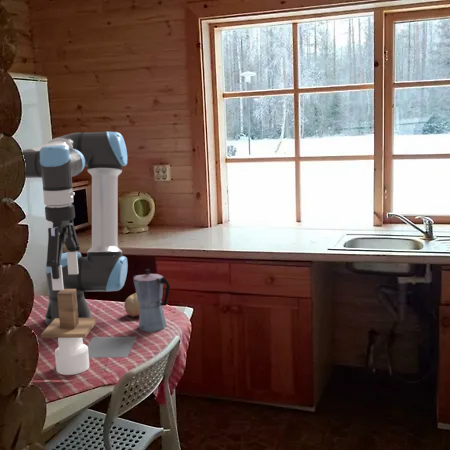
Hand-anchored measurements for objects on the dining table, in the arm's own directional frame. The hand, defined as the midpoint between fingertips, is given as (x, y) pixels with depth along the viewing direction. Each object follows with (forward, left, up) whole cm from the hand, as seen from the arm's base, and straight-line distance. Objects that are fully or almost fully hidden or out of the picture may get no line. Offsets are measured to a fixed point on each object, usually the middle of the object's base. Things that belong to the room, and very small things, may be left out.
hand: (66, 281), depth 160 cm
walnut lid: (0, 0, -14) cm, 14 cm away
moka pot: (-30, +18, -26) cm, 43 cm away
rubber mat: (-14, +7, -26) cm, 30 cm away
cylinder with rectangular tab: (0, 0, -26) cm, 26 cm away
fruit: (-42, +10, -26) cm, 50 cm away
